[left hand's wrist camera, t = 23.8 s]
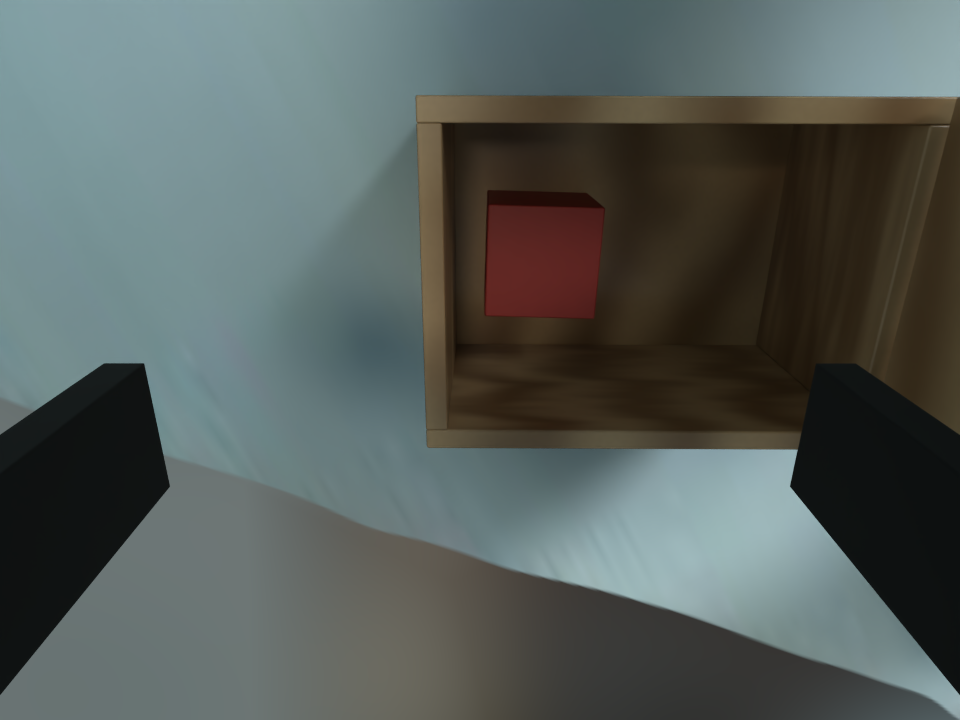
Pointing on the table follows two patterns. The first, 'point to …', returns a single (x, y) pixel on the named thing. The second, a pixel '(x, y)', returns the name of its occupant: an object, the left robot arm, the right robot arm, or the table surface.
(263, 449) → the table surface
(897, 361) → the lid
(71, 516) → the left robot arm
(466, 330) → the chest
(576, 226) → the block
